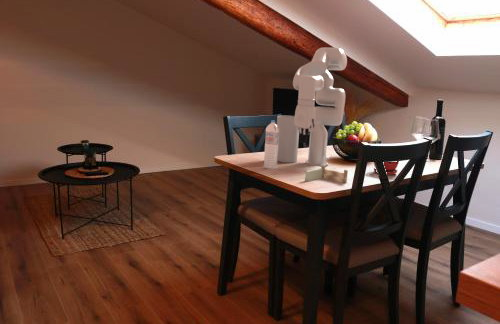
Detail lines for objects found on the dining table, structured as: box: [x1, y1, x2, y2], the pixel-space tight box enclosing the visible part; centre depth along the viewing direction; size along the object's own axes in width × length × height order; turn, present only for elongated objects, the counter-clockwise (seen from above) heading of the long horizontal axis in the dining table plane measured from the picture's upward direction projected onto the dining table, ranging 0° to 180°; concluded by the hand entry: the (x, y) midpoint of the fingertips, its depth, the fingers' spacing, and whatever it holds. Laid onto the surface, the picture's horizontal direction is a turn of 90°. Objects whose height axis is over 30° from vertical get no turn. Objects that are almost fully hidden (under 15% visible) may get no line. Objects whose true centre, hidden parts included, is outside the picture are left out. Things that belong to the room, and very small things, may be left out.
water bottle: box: [263, 119, 279, 170], centre depth 213 cm, size 7×7×25 cm
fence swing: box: [304, 168, 323, 182], centre depth 193 cm, size 11×2×4 cm, turn 134°
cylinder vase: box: [276, 115, 300, 164], centre depth 235 cm, size 12×12×25 cm
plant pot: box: [373, 160, 400, 176], centre depth 217 cm, size 13×13×12 cm
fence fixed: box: [320, 165, 349, 184], centre depth 194 cm, size 14×2×6 cm, turn 47°
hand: (303, 142), depth 196 cm, fingers closed
